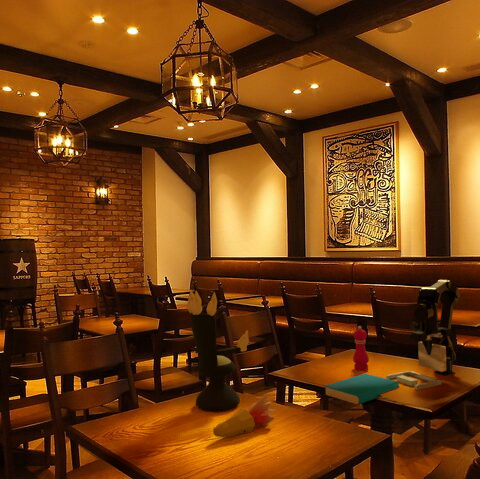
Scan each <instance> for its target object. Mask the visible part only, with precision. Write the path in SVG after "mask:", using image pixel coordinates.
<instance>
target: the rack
mask: <svg viewBox="0 0 480 479" xmlns="http://www.w3.org/2000/svg"><path fill="white" fill-rule="evenodd" d="M401 375H403V376H407V377H412V378H415V379H416V378H417V379H419V380H423V381H425V382H421V383H418V384H417V385H415V387H414V390H416V391H419V390H423V389H427V388H432V387H436V386H442V385H443V384H442V383H443V382H442V380H440V379H439V378H435V377H431V376H429V375H426V374H425V375H424V374H421V373H418V372H415V371H412V370H406V371H401V372H396V373H391V374H386V375H385V379H389V380H394V379H397V376H401Z"/></svg>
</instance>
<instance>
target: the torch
mask: <svg viewBox="0 0 480 479" xmlns="http://www.w3.org/2000/svg"><path fill="white" fill-rule="evenodd" d="M269 395H270V394H267V395H264V396H263V397H261V398H259V399H258V400H257V401H256V402H253V403H252V404H251V405H250V406H249V408H248V409H244V408H240V409H239V410H237V411H236V412H235V413H234V414H233V415H231V416H230V417H228V418H227V419H226V420H224V421H223V422H220V423H218V424H217V425H216V426H215V427H213V429H212V431H213V435H214V436H215V437H219V438H226V437H232V436H235V435H238V434H243V433H245V434H246V433H253V431H254V428H255V427H265V426H267V425H268V424H270V423H271V422H273V421H274V420H275V418H274V417H272V416H270V415H271V414H272V413H274V412H275V411H276V409H272V408H271V409H270V405H271V404H272V402H271V401H268V402H266V400H267V399H268V396H269ZM265 402H266V403H265Z"/></svg>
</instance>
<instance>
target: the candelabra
mask: <svg viewBox="0 0 480 479" xmlns="http://www.w3.org/2000/svg"><path fill="white" fill-rule="evenodd" d="M217 306H218V299H217V296H216V292H215V291H213V294H212V296H211V298H210V301H209V302H208V303H207V306H206V313H202V311H203V306H202V298H201V296H200V294H199V293H198V291H197V290H195V293H194V292H193V291H192V289H190V290H189V297H188V300H187V305H186V309H187V310H188V312H189V322H190V326H191V331H192V335H193V339H194V344H195V353H196V354H197V360H198V367H197V370H198V373H199V375H201V376H202V377H205V378H209V380H208V384H206V386H205V387H204V388H203V390H201V391H200V392H199V393H198V395H197V397H196V399H195V406H197V408H198V409H199V410H201V411H206V412H211V413H218V412H225V411H226V412H227V411H229V410H233V409H234V408H235V409H236V408H237V407H238V405H239V404H240V402H241V399H240V396H239V394H238V393H237V392H236V391H235V389H233V388H232V387H231V386H230V385H228V383H227V382H226V377H229V376H230V375H232V374H233V373H234V372H235V369H236V365H235V363H234V362H233V361H232V360H231V359H230V358H228V357H226V356H228V355H234V354H239V353H240V352H246V351H247V350H248V348H247V347H248V344H249V343H250V338H249V330H248V329H247V330H246V331H245V332H244V333H243V334H242V335H241V336H240V338H239V339H238V342H237V344H236V346H232V347H227V348H222V349H217V318H216V316H215V314H216V313H217Z"/></svg>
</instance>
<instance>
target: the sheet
mask: <svg viewBox="0 0 480 479" xmlns="http://www.w3.org/2000/svg"><path fill="white" fill-rule="evenodd" d="M417 345H418V350H417V351H418V352H417V353H418V366H420V367H424V368H427V369H431V370H433V371H435V370H437V371H440V372H442V371H447V370H446V346H442V345H437V344H433V343H432V349H431V354H430V355H428V354H427V352H426V349H425V347H424V345H423V343H422V341H418V342H417Z"/></svg>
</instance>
